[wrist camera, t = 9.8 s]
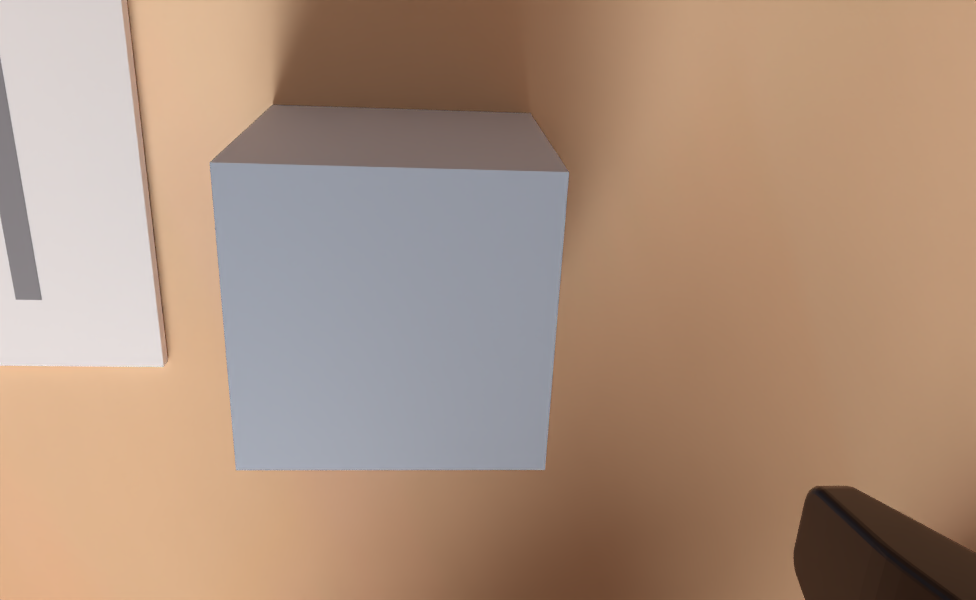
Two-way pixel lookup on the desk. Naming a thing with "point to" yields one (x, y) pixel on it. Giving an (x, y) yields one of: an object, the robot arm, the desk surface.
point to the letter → (74, 191)
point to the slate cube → (389, 288)
